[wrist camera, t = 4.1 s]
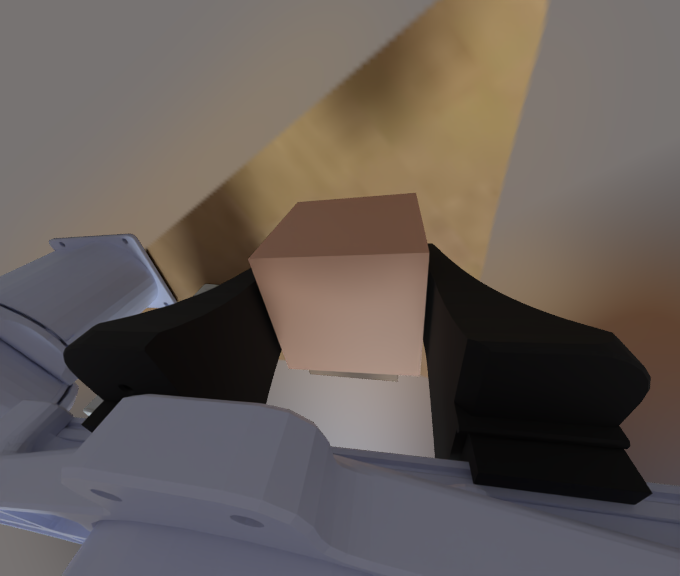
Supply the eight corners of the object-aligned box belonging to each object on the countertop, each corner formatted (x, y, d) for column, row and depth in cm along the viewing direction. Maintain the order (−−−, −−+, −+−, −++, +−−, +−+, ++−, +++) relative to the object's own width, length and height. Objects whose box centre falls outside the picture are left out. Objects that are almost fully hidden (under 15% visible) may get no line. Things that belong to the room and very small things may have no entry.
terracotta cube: (317, 293, 14) (288, 368, 10) (297, 202, 12) (247, 258, 8) (411, 292, 13) (420, 376, 9) (415, 192, 11) (429, 252, 7)
